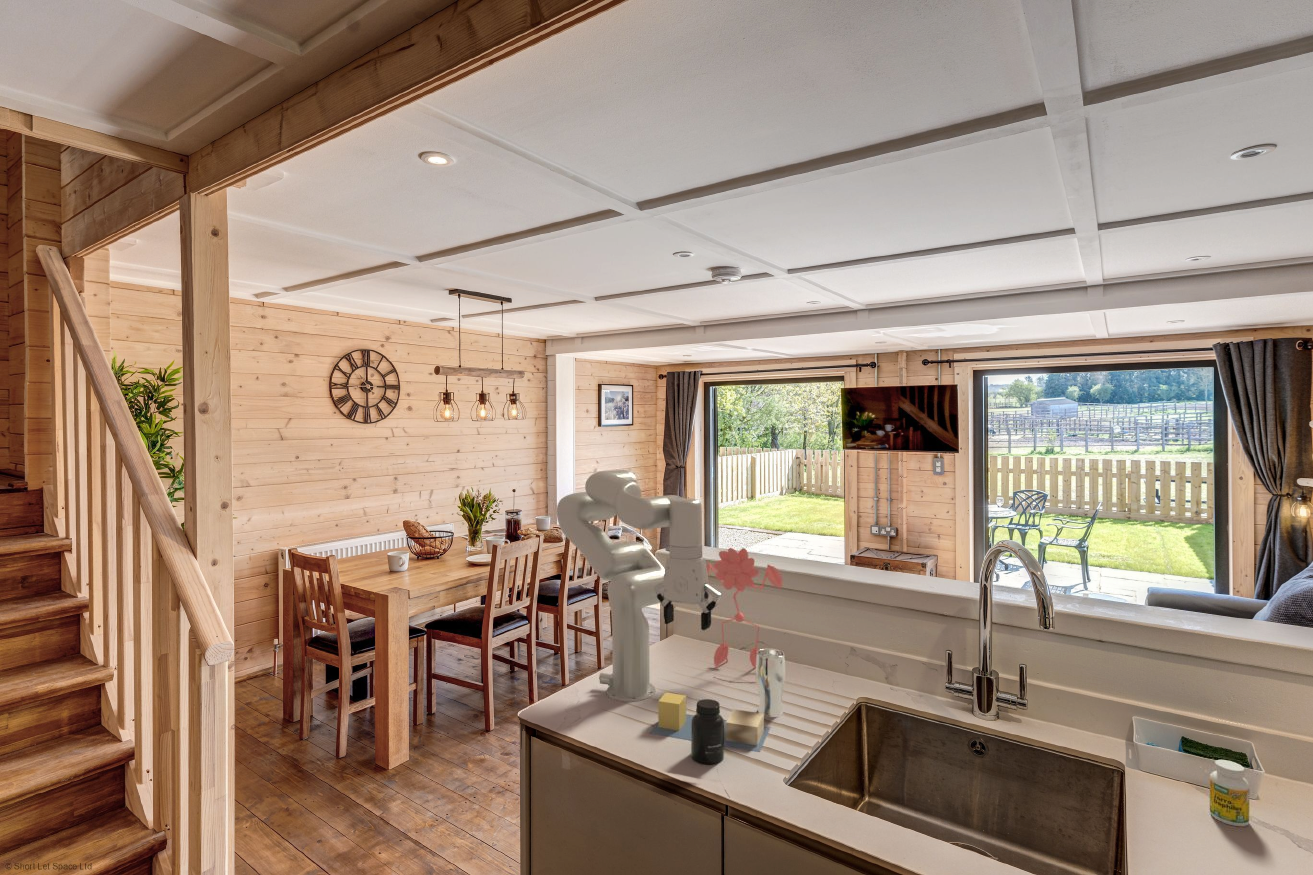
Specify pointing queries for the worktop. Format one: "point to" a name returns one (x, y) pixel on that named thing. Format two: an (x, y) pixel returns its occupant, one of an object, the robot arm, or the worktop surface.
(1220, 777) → the supplement bottle
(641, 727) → the worktop surface
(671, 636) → the worktop surface
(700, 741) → the supplement bottle
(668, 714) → the mustard block
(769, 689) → the beer glass
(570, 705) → the worktop surface
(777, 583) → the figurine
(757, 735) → the beech base block
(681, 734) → the board
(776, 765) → the worktop surface
